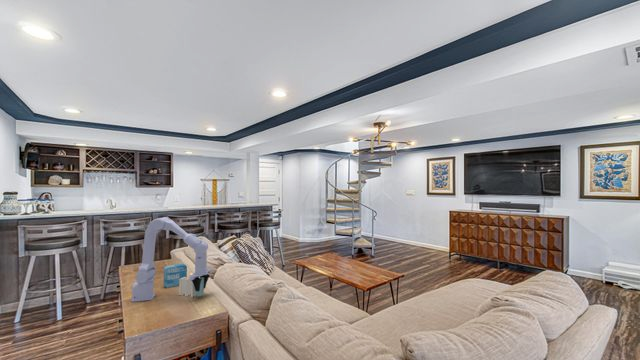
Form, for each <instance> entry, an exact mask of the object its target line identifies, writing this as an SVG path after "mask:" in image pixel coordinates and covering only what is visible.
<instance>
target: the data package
mask: <svg viewBox="0 0 640 360" xmlns="http://www.w3.org/2000/svg"><path fill="white" fill-rule="evenodd" d="M187 276H188V266H187V265H186V264H185V263H179V264H178V263H177V264H172V265H166V266H165V267H163V286H164V287H165V288H167V289H169V288H174V287H178V286H177V285H179V279H181V278H183V277H187ZM187 278H188V277H187ZM173 286H174V287H173Z"/></svg>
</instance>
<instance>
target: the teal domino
mask: <svg viewBox="0 0 640 360" xmlns="http://www.w3.org/2000/svg"><path fill="white" fill-rule="evenodd" d="M199 278H200V277H199ZM200 279H202V280H201V283H200V290H199V291H197V296H196V297H200V296H203V295H204V294H205V292H204V290H205V289H204V277H202V278H200Z"/></svg>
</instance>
